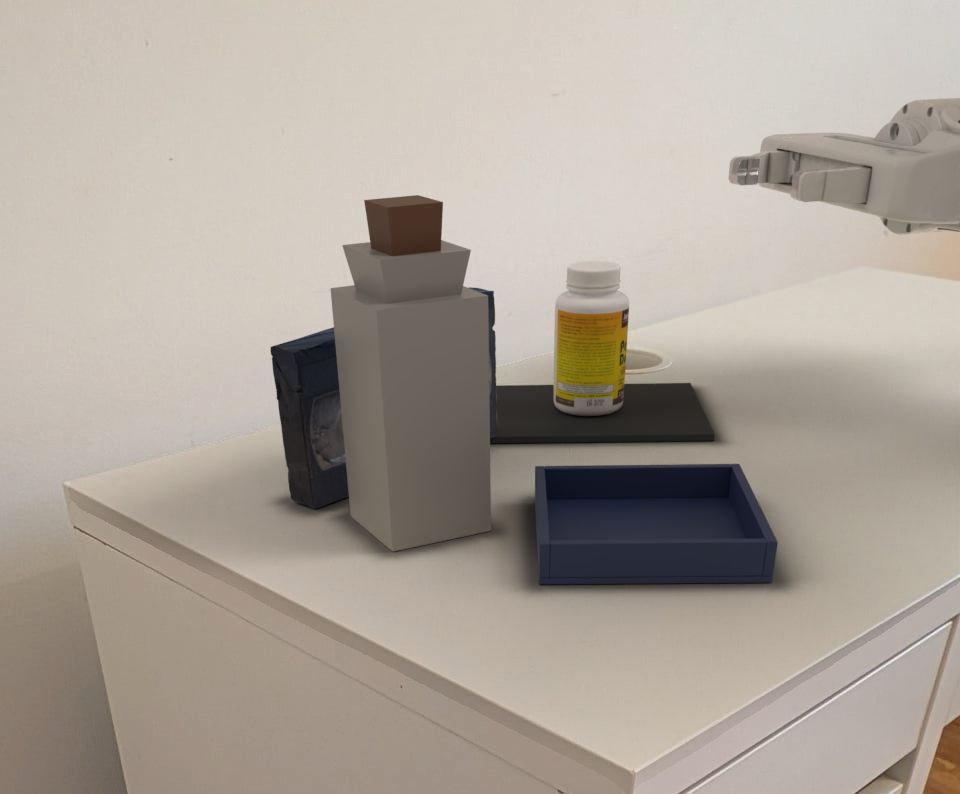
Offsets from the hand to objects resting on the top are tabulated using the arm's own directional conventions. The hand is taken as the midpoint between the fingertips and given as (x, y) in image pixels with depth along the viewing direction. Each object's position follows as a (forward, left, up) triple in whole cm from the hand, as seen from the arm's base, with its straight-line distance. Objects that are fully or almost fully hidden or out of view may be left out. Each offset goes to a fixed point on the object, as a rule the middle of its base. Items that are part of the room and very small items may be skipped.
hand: (763, 178), depth 84 cm
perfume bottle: (+24, +27, -16) cm, 40 cm away
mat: (+12, +4, -16) cm, 20 cm away
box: (+10, +30, -16) cm, 35 cm away
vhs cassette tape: (+26, +17, -16) cm, 35 cm away
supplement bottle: (+13, +4, -15) cm, 20 cm away
